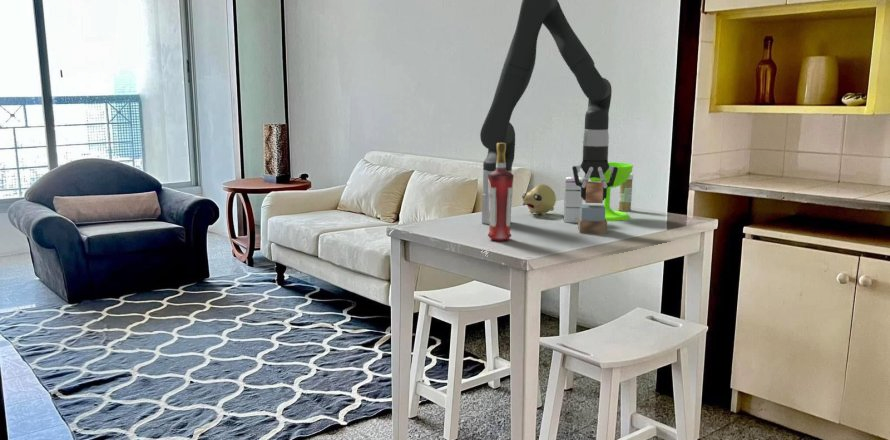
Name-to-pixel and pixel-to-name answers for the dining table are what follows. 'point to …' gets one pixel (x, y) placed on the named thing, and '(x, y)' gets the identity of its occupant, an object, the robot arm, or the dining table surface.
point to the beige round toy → (540, 199)
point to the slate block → (592, 212)
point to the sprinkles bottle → (625, 195)
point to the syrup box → (572, 200)
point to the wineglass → (620, 178)
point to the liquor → (500, 198)
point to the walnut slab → (592, 226)
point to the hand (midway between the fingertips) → (593, 199)
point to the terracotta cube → (594, 192)
